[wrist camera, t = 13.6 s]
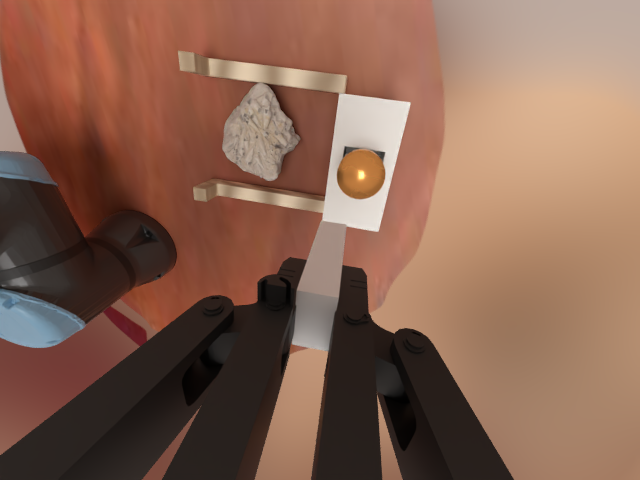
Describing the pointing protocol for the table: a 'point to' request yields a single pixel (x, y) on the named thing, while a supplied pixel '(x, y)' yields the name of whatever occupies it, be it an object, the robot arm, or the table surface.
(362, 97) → the white button box
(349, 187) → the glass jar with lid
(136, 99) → the table surface
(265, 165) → the rock
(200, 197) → the track
